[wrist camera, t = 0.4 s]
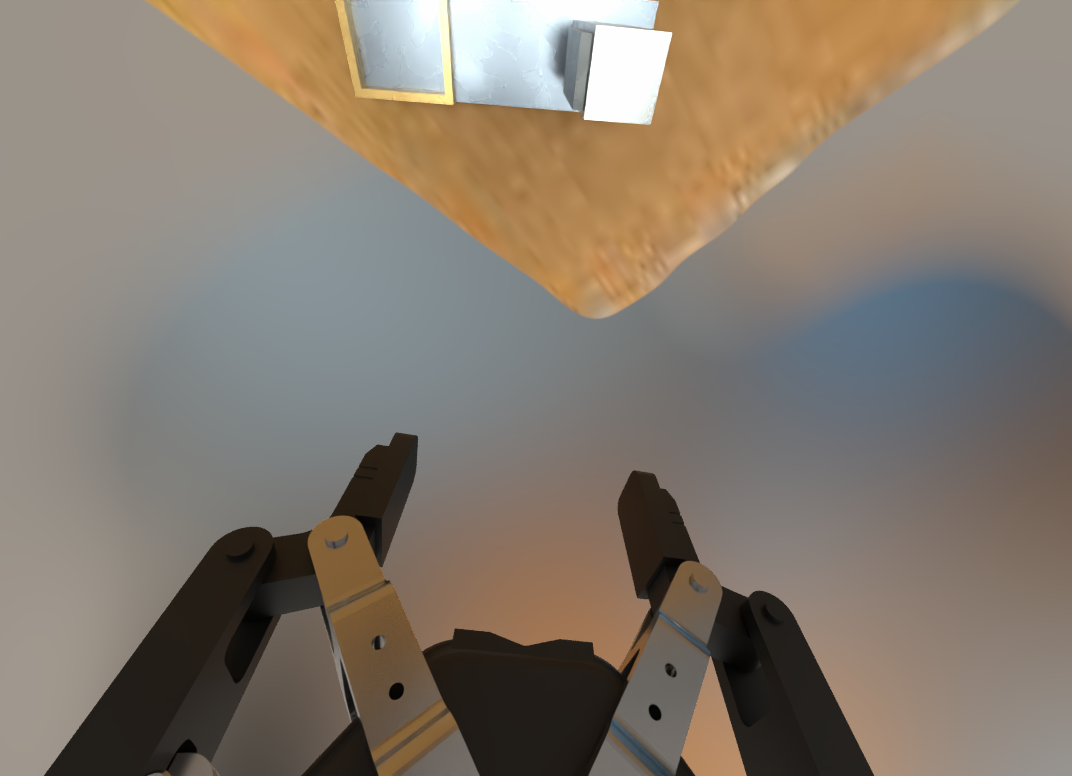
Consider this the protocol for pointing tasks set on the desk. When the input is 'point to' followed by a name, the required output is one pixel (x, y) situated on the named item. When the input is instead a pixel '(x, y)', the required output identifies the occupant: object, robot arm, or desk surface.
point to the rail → (509, 53)
